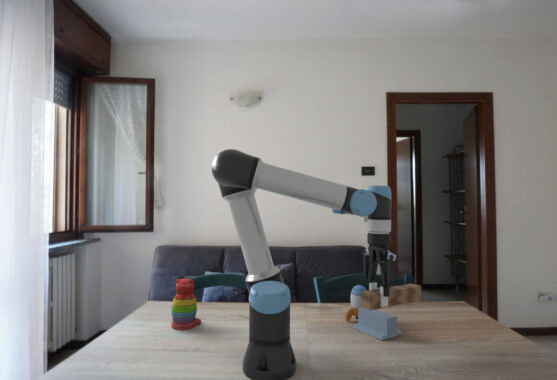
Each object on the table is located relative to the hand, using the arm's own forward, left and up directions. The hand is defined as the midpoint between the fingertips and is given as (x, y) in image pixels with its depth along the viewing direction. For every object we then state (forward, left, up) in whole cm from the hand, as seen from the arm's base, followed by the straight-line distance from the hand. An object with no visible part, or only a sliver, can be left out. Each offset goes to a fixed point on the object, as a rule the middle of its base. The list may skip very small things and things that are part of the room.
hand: (378, 304), depth 117 cm
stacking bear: (-48, +52, -14) cm, 72 cm away
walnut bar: (+6, 0, -1) cm, 6 cm away
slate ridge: (+10, +10, -14) cm, 20 cm away
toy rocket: (+12, +23, -14) cm, 30 cm away
